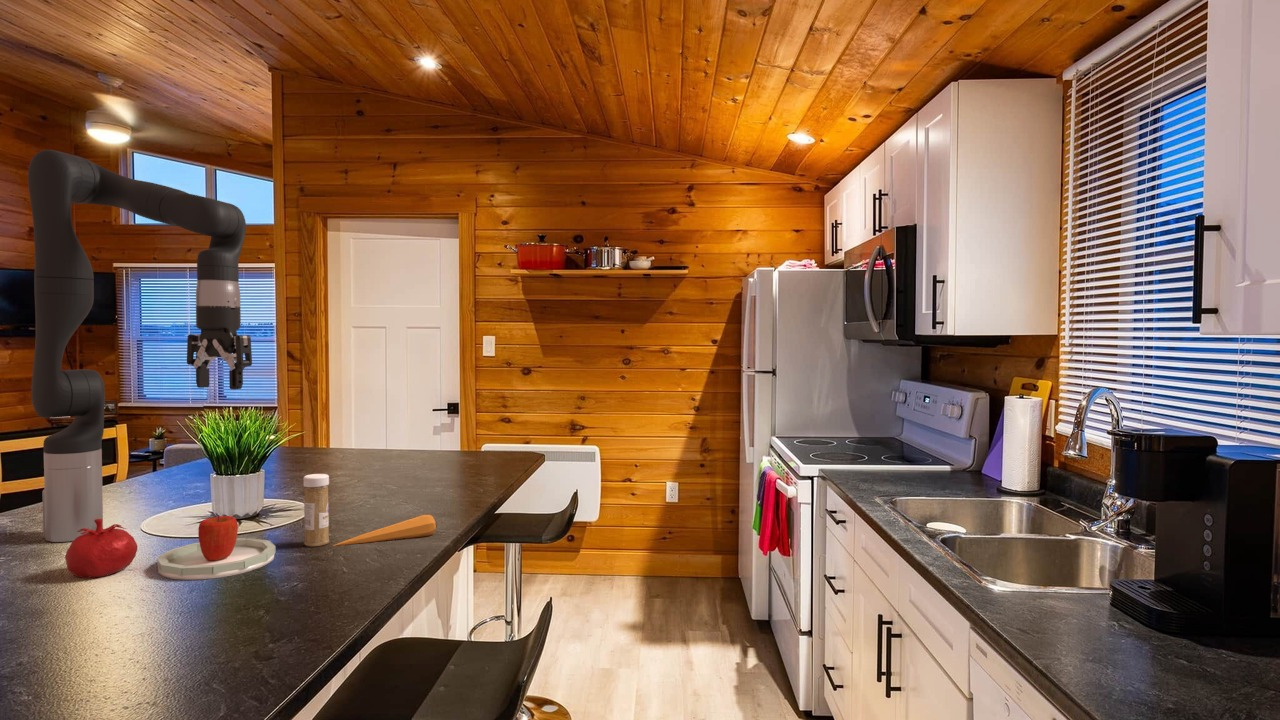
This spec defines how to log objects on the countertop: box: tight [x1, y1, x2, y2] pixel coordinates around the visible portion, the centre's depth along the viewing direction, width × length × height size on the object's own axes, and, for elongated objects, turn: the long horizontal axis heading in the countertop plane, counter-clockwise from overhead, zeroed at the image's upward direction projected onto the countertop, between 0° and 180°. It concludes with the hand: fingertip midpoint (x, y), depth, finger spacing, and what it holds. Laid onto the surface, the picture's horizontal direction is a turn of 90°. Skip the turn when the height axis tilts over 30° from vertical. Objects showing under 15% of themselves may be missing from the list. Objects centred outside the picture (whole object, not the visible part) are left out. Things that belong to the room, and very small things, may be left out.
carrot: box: [332, 514, 438, 547], centre depth 150 cm, size 20×4×4 cm, turn 119°
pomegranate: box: [64, 518, 138, 579], centre depth 128 cm, size 10×10×9 cm
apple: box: [197, 515, 239, 561], centre depth 134 cm, size 6×6×8 cm
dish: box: [156, 537, 277, 581], centre depth 134 cm, size 18×18×2 cm
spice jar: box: [303, 473, 330, 548], centre depth 146 cm, size 5×5×14 cm
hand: (219, 388), depth 146 cm, fingers open, 8 cm apart
